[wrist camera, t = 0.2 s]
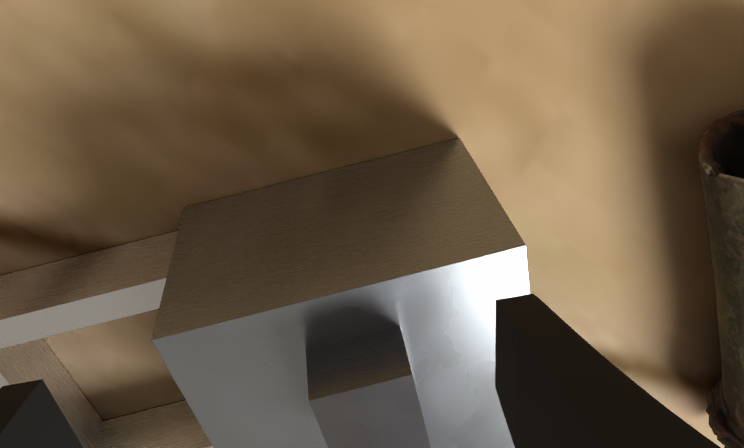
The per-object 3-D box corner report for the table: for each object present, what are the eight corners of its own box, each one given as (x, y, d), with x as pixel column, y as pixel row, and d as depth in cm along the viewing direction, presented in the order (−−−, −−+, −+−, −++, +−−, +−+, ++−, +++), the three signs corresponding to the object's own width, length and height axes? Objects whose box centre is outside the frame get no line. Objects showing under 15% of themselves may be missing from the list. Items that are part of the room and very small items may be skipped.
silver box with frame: (496, 402, 26) (567, 582, 20) (130, 494, 26) (84, 704, 20) (459, 137, 19) (552, 289, 13) (-47, 266, 19) (-207, 480, 13)
